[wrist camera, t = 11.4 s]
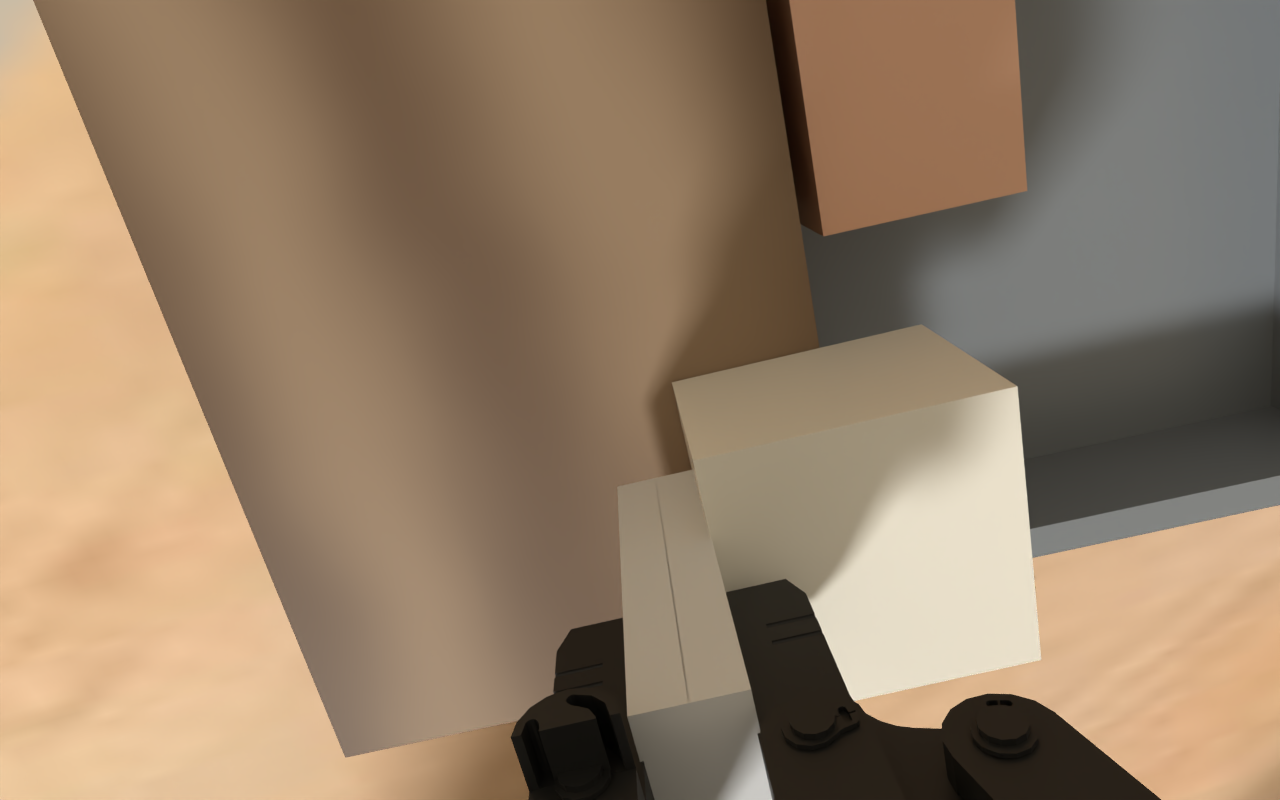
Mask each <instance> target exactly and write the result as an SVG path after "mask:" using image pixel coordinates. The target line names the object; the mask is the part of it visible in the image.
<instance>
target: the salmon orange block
mask: <svg viewBox="0 0 1280 800" xmlns="http://www.w3.org/2000/svg"><path fill="white" fill-rule="evenodd" d="M766 5H767V12H768V18H769V25H770V31H771V37H772V44H773V50H774V57H775V63H776V70H777V76H778V83H779V89H780V96H781V102H782V109H783V115H784V122H785V128H786V135H787V141H788V147H789V154H790V160H791V167H792V173H793V180H794V186H795V193H796V199H797V206H798V212H799V219H800V224H801V225H803V226H805V227H807V228H809V229H811V230H812V231H814V232H816V233H818V234H820V235H822V236H828V235H832V234H837V233H841V232H845V231H850V230H854V229H859V228H863V227H868V226H872V225H877V224H881V223H886V222H890V221H895V220H899V219H904V218H908V217H913V216H917V215H922V214H926V213H931V212H935V211H939V210H944V209H948V208H953V207H957V206H962V205H966V204H971V203H975V202H980V201H984V200H989V199H993V198H998V197H1002V196H1007V195H1011V194H1016V193H1020V192H1025V191H1027V179H1026V163H1025V148H1024V132H1023V117H1022V101H1021V86H1020V71H1019V55H1018V40H1017V24H1016V9H1015V0H766Z"/></svg>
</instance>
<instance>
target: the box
mask: <svg viewBox="0 0 1280 800" xmlns="http://www.w3.org/2000/svg"><path fill="white" fill-rule="evenodd" d="M1015 9H1016V24H1017V40H1018V55H1019V71H1020V86H1021V101H1022V117H1023V132H1024V148H1025V163H1026V179H1027V191H1025V192H1020V193H1016V194H1011V195H1007V196H1002V197H998V198H993V199H989V200H984V201H980V202H975V203H971V204H966V205H962V206H957V207H953V208H948V209H944V210H939V211H935V212H931V213H926V214H922V215H917V216H913V217H908V218H904V219H899V220H895V221H890V222H886V223H881V224H877V225H872V226H868V227H863V228H859V229H854V230H850V231H845V232H841V233H837V234H832V235H828V236H822V235H820V234H818V233H816V232H814V231H812V230H811V229H809V228H807V227H805V226H803V225H801V224H800V225H801V232H802V238H803V244H804V251H805V257H806V264H807V270H808V277H809V283H810V290H811V296H812V303H813V309H814V316H815V322H816V329H817V335H818V342H819V348H822V347H826V346H830V345H834V344H839V343H843V342H847V341H852V340H856V339H860V338H865V337H869V336H873V335H878V334H882V333H886V332H890V331H895V330H899V329H903V328H908V327H912V326H916V325H921V324H922V325H923V326H925V327H927V328H928V329H930V330H931V331H933V332H934V333H936V334H937V335H939V336H940V337H942V338H944V339H945V340H947V341H948V342H950V343H951V344H953V345H954V346H956V347H957V348H959V349H961V350H962V351H964V352H965V353H967V354H968V355H970V356H971V357H973V358H974V359H976V360H978V361H979V362H981V363H982V364H984V365H985V366H987V367H988V368H990V369H992V370H993V371H995V372H996V373H998V374H999V375H1001V376H1002V377H1004V378H1005V379H1007V380H1009V381H1010V382H1012V383H1013V384H1015V385H1016V386H1017V387H1018V398H1019V410H1020V421H1021V433H1022V444H1023V456H1024V467H1025V479H1026V490H1027V502H1028V513H1029V525H1030V536H1031V548H1032V558H1034V557H1039V556H1043V555H1048V554H1053V553H1057V552H1062V551H1067V550H1071V549H1076V548H1081V547H1085V546H1090V545H1095V544H1099V543H1104V542H1109V541H1113V540H1118V539H1123V538H1127V537H1132V536H1137V535H1142V534H1146V533H1151V532H1156V531H1160V530H1165V529H1170V528H1174V527H1179V526H1184V525H1188V524H1193V523H1198V522H1202V521H1207V520H1212V519H1216V518H1221V517H1226V516H1230V515H1235V514H1240V513H1244V512H1249V511H1254V510H1258V509H1263V508H1268V507H1272V506H1277V505H1280V0H1015Z"/></svg>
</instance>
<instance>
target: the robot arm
mask: <svg viewBox="0 0 1280 800" xmlns="http://www.w3.org/2000/svg"><path fill="white" fill-rule="evenodd" d="M617 489H618V512H619V535H620V559H621V582H622V606H623V618H619V619H614V620H610V621H605V622H601V623H596V624H592V625H587V626H583V627H578V628H574V629H571V630H570V631H569V633H568V635H567V636H566V638H565V639H564V641H563V642H562V644H561V645H560V647H559V649H558V650H557V654H556V666H555V677H556V678H554V689H553V693H554V694H553V695H550V696H547V697H546V698H544V699H543V700H541V701H539V702H538V703H536V704H535V705H533V706H532V707H530V708H529V709H528V710H527V711H526V713H525V714H524V715H523V716H522V717H521V718H520V719H519V720H518V721H517V723H516V726H515V728H514V731H513V733H512V736H511V739H512V742H513V745H514V748H515V751H516V754H517V756H518V759H519V762H520V765H521V768H522V771H523V774H524V777H525V780H526V783H527V786H528V789H529V799H528V800H1161V799H1160V798H1159V797H1157V796H1156V795H1155V794H1154V793H1152V792H1151V791H1150V790H1149V789H1148V788H1146V787H1145V786H1144V785H1143V784H1141V783H1140V782H1139V781H1138V780H1137V779H1135V778H1134V777H1133V776H1132V775H1130V774H1129V773H1128V772H1127V771H1126V770H1124V769H1123V768H1122V767H1121V766H1119V765H1118V764H1117V763H1116V762H1115V761H1113V760H1112V759H1111V758H1110V757H1108V756H1107V755H1106V754H1105V753H1104V752H1102V751H1101V750H1100V749H1099V748H1097V747H1096V746H1095V745H1094V744H1093V743H1091V742H1090V741H1089V740H1088V739H1087V738H1085V737H1084V736H1083V735H1082V734H1080V733H1079V732H1078V731H1077V730H1076V729H1074V728H1073V727H1072V726H1071V725H1069V724H1068V723H1067V722H1066V721H1065V720H1063V719H1062V718H1061V717H1060V716H1058V715H1057V714H1056V713H1055V712H1053V711H1052V710H1050V709H1048V708H1046V707H1045V706H1043V705H1041V704H1040V703H1038V702H1036V701H1034V700H1031V699H1027V698H1023V697H1019V696H1016V695H1012V694H985V695H981V696H977V697H973V698H969V699H966V700H964V701H963V702H961V703H960V704H958V705H957V706H955V707H953V708H952V709H950V711H949V713H948V714H947V716H946V718H945V719H944V721H943V723H942V729H930V728H910V727H901V726H895V725H892V724H888V723H885V722H881V721H879V720H877V719H875V718H873V717H871V716H869V715H868V714H866V713H865V712H864V711H863V709H862V708H861V707H860V706H859V704H857V703H855V702H854V701H853V699H852V698H851V696H850V694H849V692H848V690H847V687H846V685H845V683H844V680H843V678H842V676H841V673H840V671H839V669H838V667H837V664H836V662H835V660H834V657H833V655H832V653H831V650H830V648H829V646H828V643H827V641H826V639H825V636H824V634H823V633H822V629H821V627H820V625H819V622H818V620H817V618H816V617H815V613H814V611H813V609H812V606H811V604H810V602H809V599H808V597H807V595H806V593H805V592H803V591H802V590H801V589H799V588H798V587H796V586H795V585H794V584H792V583H791V582H789V581H788V580H787V579H783V580H778V581H774V582H769V583H765V584H760V585H756V586H751V587H747V588H742V589H738V590H733V591H729V592H725V588H724V584H723V580H722V576H721V573H720V569H719V565H718V561H717V557H716V554H715V550H714V546H713V542H712V539H711V538H710V534H709V531H708V527H707V523H706V519H705V515H704V512H703V508H702V504H701V500H700V496H699V493H698V489H697V485H696V481H695V477H694V474H693V470H688V471H684V472H680V473H675V474H671V475H667V476H662V477H658V478H653V479H649V480H645V481H640V482H636V483H632V484H627V485H623V486H618V487H617Z"/></svg>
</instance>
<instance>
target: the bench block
mask: <svg viewBox="0 0 1280 800" xmlns="http://www.w3.org/2000/svg"><path fill="white" fill-rule="evenodd" d="M33 1H34V3H35V6H36V8H37V10H38V13H39V15H40V18H41V20H42V23H43V25H44V27H45V30H46V32H47V35H48V37H49V40H50V42H51V44H52V47H53V49H54V52H55V54H56V57H57V59H58V61H59V64H60V66H61V69H62V71H63V73H64V76H65V78H66V81H67V83H68V86H69V88H70V90H71V93H72V95H73V98H74V100H75V103H76V105H77V107H78V110H79V112H80V115H81V117H82V120H83V122H84V124H85V127H86V129H87V132H88V134H89V137H90V139H91V141H92V144H93V146H94V149H95V151H96V154H97V156H98V158H99V161H100V163H101V166H102V168H103V171H104V173H105V175H106V178H107V180H108V183H109V185H110V188H111V190H112V192H113V195H114V197H115V200H116V202H117V205H118V207H119V209H120V212H121V214H122V217H123V219H124V222H125V224H126V226H127V229H128V231H129V234H130V236H131V238H132V241H133V243H134V246H135V248H136V251H137V253H138V255H139V258H140V260H141V263H142V265H143V268H144V270H145V272H146V275H147V277H148V280H149V282H150V285H151V287H152V289H153V292H154V294H155V297H156V299H157V302H158V304H159V306H160V309H161V311H162V314H163V316H164V319H165V321H166V323H167V326H168V328H169V331H170V333H171V336H172V338H173V340H174V343H175V345H176V348H177V350H178V353H179V355H180V357H181V360H182V362H183V365H184V367H185V370H186V372H187V374H188V377H189V379H190V382H191V384H192V387H193V389H194V391H195V394H196V396H197V399H198V401H199V403H200V406H201V408H202V411H203V413H204V416H205V418H206V420H207V423H208V425H209V428H210V430H211V433H212V435H213V437H214V440H215V442H216V445H217V447H218V450H219V452H220V454H221V457H222V459H223V462H224V464H225V467H226V469H227V471H228V474H229V476H230V479H231V481H232V484H233V486H234V488H235V491H236V493H237V496H238V498H239V501H240V503H241V505H242V508H243V510H244V513H245V515H246V518H247V520H248V522H249V525H250V527H251V530H252V532H253V535H254V537H255V539H256V542H257V544H258V547H259V549H260V552H261V554H262V556H263V559H264V561H265V564H266V566H267V568H268V571H269V573H270V576H271V578H272V581H273V583H274V585H275V588H276V590H277V593H278V595H279V598H280V600H281V602H282V605H283V607H284V610H285V612H286V615H287V617H288V619H289V622H290V624H291V627H292V629H293V632H294V634H295V636H296V639H297V641H298V644H299V646H300V649H301V651H302V653H303V656H304V658H305V661H306V663H307V666H308V668H309V670H310V673H311V675H312V678H313V680H314V683H315V685H316V687H317V690H318V692H319V695H320V697H321V700H322V702H323V704H324V707H325V709H326V712H327V714H328V717H329V719H330V721H331V724H332V726H333V729H334V731H335V733H336V736H337V738H338V741H339V743H340V746H341V748H342V750H343V753H344V755H345V757H350V756H355V755H360V754H364V753H369V752H374V751H378V750H383V749H388V748H393V747H397V746H402V745H407V744H411V743H416V742H421V741H426V740H430V739H435V738H440V737H444V736H449V735H454V734H459V733H463V732H468V731H473V730H477V729H482V728H487V727H492V726H496V725H501V724H506V723H510V722H515V721H518V720H519V719H520V718H521V717H522V716H523V715H524V714H525V713H526V711H527V710H528V709H529V708H530V707H532V706H533V705H535V704H536V703H538V702H539V701H541V700H543V699H544V698H546V697H547V696H550V695H553V694H554V693H553V689H554V678H556V677H555V666H556V654H557V650H558V649H559V647H560V645H561V644H562V642H563V641H564V639H565V638H566V636H567V635H568V633H569V631H570V630H571V629H574V628H578V627H583V626H587V625H592V624H596V623H601V622H605V621H610V620H614V619H619V618H623V606H622V582H621V559H620V535H619V512H618V489H617V487H618V486H623V485H627V484H632V483H636V482H640V481H645V480H649V479H653V478H658V477H662V476H667V475H671V474H675V473H680V472H684V471H688V470H692V469H691V465H690V460H689V456H688V451H687V447H686V443H685V438H684V434H683V430H682V425H681V421H680V416H679V412H678V408H677V403H676V399H675V394H674V390H673V386H672V382H675V381H679V380H684V379H688V378H692V377H697V376H701V375H705V374H710V373H714V372H718V371H723V370H727V369H731V368H735V367H740V366H744V365H748V364H753V363H757V362H761V361H766V360H770V359H774V358H778V357H783V356H787V355H791V354H796V353H800V352H804V351H809V350H813V349H817V348H819V342H818V335H817V329H816V322H815V316H814V309H813V303H812V296H811V290H810V283H809V277H808V270H807V264H806V257H805V251H804V244H803V238H802V232H801V225H800V219H799V212H798V206H797V199H796V193H795V186H794V180H793V173H792V167H791V160H790V154H789V147H788V141H787V135H786V128H785V122H784V115H783V109H782V102H781V96H780V89H779V83H778V76H777V70H776V63H775V57H774V50H773V44H772V37H771V31H770V25H769V18H768V12H767V5H766V0H33Z"/></svg>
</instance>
